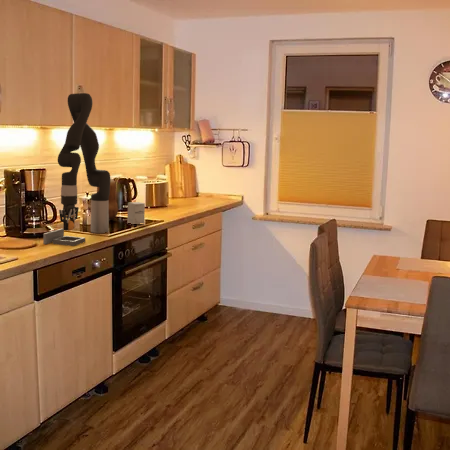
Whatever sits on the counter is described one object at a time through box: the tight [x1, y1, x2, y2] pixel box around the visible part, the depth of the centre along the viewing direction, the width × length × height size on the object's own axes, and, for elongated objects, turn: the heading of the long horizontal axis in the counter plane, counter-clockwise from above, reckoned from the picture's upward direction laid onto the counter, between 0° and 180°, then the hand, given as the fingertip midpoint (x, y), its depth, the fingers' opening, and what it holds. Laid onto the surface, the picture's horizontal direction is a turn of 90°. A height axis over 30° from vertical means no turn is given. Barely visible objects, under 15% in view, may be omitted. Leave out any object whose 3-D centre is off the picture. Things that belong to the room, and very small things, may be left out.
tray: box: [52, 235, 86, 247], centre depth 290 cm, size 11×11×2 cm
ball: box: [67, 219, 75, 232], centre depth 289 cm, size 5×5×5 cm
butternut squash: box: [96, 178, 119, 221], centre depth 357 cm, size 14×13×25 cm
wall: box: [42, 228, 65, 245], centre depth 292 cm, size 16×1×5 cm, turn 164°
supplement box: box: [127, 201, 146, 225], centre depth 350 cm, size 7×7×13 cm
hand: (68, 229), depth 289 cm, fingers closed on ball, 5 cm apart
